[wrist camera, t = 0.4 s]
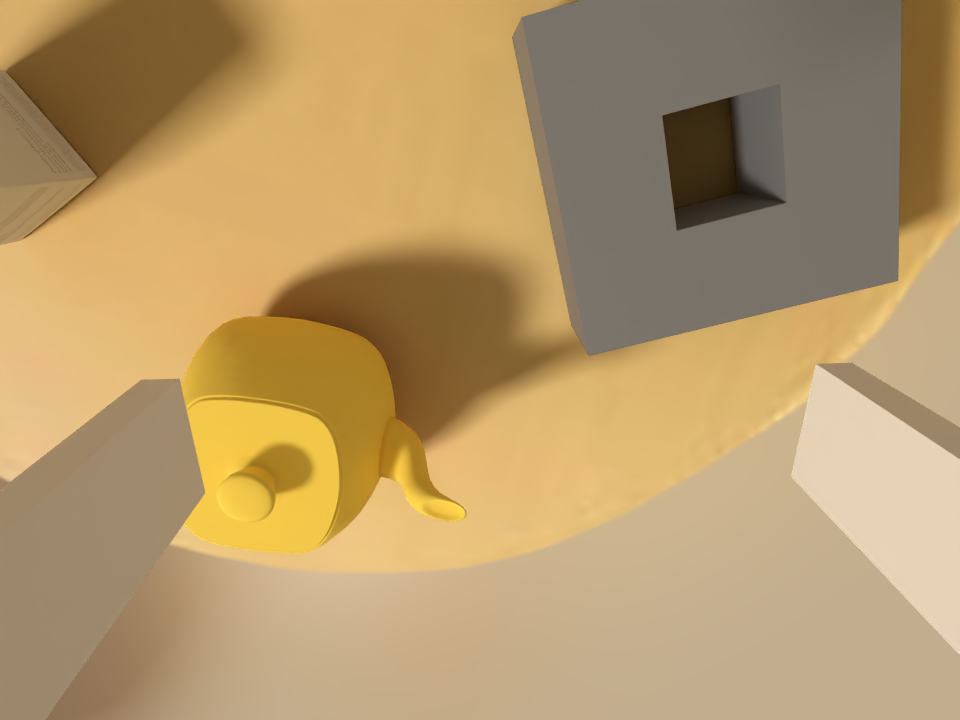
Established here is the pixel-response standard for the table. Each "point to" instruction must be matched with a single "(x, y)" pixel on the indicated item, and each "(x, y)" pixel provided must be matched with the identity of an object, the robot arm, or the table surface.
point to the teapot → (296, 435)
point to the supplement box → (33, 165)
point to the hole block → (757, 149)
